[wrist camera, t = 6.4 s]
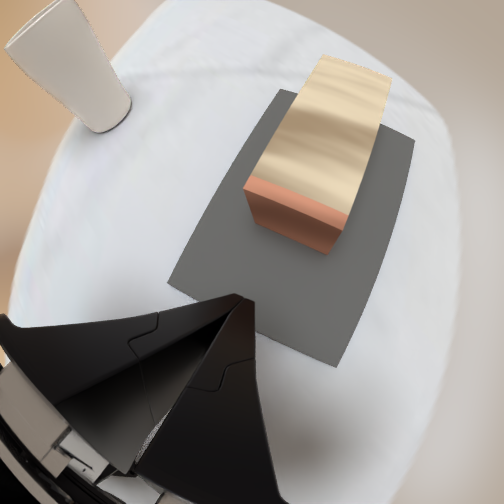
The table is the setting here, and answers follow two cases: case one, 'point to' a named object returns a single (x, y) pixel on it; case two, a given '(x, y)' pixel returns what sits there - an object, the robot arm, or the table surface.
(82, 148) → the table surface
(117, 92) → the drinking glass
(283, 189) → the block
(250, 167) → the mat
